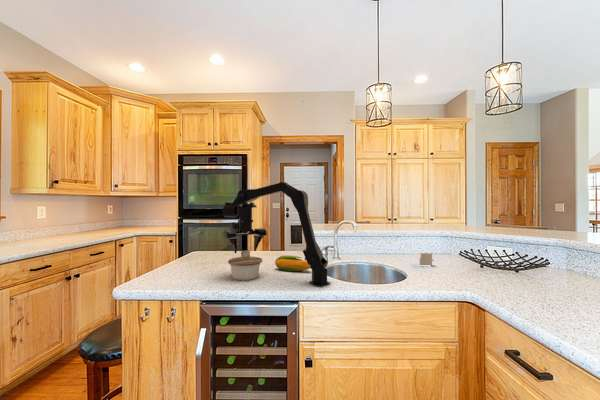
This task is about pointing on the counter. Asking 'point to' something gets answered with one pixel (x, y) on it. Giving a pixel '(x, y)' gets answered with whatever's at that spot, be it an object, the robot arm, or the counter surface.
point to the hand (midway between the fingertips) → (245, 252)
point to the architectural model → (426, 259)
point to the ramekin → (245, 272)
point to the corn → (291, 263)
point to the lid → (245, 259)
